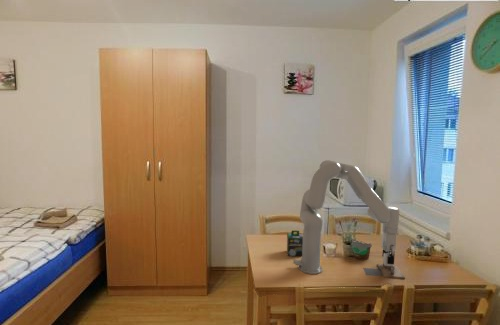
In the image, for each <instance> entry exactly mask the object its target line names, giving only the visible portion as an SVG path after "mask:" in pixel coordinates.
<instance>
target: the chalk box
mask: <svg viewBox="0 0 500 325" xmlns="http://www.w3.org/2000/svg"><path fill="white" fill-rule="evenodd" d="M302 244H303V233H301V232H300V230H291V233H290V232H289V233H287V234H286V253H287V257H300V258H302Z"/></svg>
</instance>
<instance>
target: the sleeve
mask: <svg viewBox="0 0 500 325" xmlns="http://www.w3.org/2000/svg"><path fill="white" fill-rule="evenodd" d="M390 254H391V253H390ZM382 255H383V256H382V264H383V266H384V268H385V269H391V265H393V266H394V265H395V263H394V264H388V263H387V260H388V253H383V252H382Z"/></svg>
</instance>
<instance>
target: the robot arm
mask: <svg viewBox="0 0 500 325" xmlns="http://www.w3.org/2000/svg"><path fill="white" fill-rule="evenodd" d="M334 178H336V179H340V180H341V179H342V180H345V181H346V182H347V183H348V185H349V187H350V188H351V189H352V191H353V192H354V194H355V195H356V197H357V198H358V199H359V200H360V201H361V202H363V203H364V204H365V205H366V206H367V215H368V216H369V218H371V219H373V221H376V222H378V223H379V224H382V237H381V238H382V239H381V248H382V257H383V253H388V260H387V263H388V264H394V265H395V253H396V251H397V250H396V249H397V235H398V233H399V222H400V221H399V219H400V209H399V208H398V207H395V206H390V205H389V206H387V205H386V204H385V203H384V201H383V200H382V198H381V197H380V196H379V195H378V194H377V193H376V192H375V190H374V189H373V188H372V187H371V186H370V184H369V182H368V181H367V179H366V178H365V176H364V175H363V173H362V171H361V170H360V169H359V167H357V166H354V165H351V164H345V163H341V162H337V161H334V160H330V159H329V160H327V159H326V160H323V161H322V162H321V163H320V165H319V169H317V170H316V171H315V173H314V174H313V175H312V177H311V182H310V185H309V186H310V187H309V189H307V190H305V192H304V193H303V195H302V199H301V206H300V211H299V219H300V220H301V222H302V223H303V231H302V236H303V244H302V257H300V259H299V260H297V259H292V260H293V265H294V264H295V266H298V270H300V272H302V273H305V274H309V275H317V274H321V273H322V272H323V271H324V270H323V267H322V266H321V245H322V244H321V243H322V241H321V240H322V231H323V223H324V222H323V217H322V216H321V215H320V214H319V212H318V210H321V209H322V207H323V206H324V205H325V199H326V195H327V188H328V185H329V183H330V181H331V180H332V179H334ZM390 253H391V254H390Z"/></svg>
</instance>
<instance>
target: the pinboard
mask: <svg viewBox="0 0 500 325" xmlns="http://www.w3.org/2000/svg"><path fill="white" fill-rule="evenodd" d="M376 267H377V269H379V270H380V271H381V273H382V275H383V276H382V277H384V278H387V279H388V278H389V279H391V278H392V279H401V280H405V279H406V277H405V275H404V274H403V273H402V272H401V270H400V268H399V267H398V266H397V265H396V264H394V266H393V265H391V269H385V268H384V266H383V263H376Z"/></svg>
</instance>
